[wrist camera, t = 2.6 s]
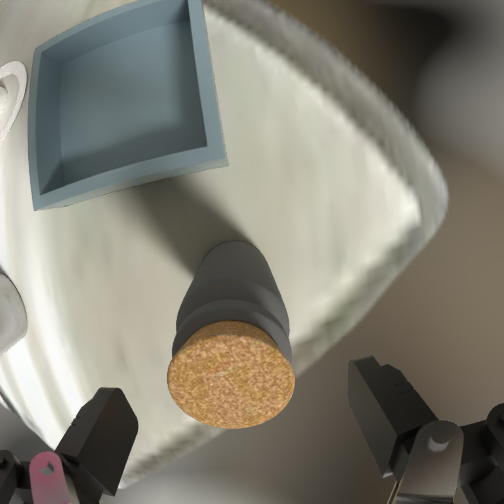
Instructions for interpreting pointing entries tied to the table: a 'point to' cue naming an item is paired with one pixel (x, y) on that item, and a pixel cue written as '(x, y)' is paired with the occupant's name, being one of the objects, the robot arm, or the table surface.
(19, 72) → the candle holder
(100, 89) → the tote
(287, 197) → the table surface
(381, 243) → the table surface
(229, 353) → the bottle
